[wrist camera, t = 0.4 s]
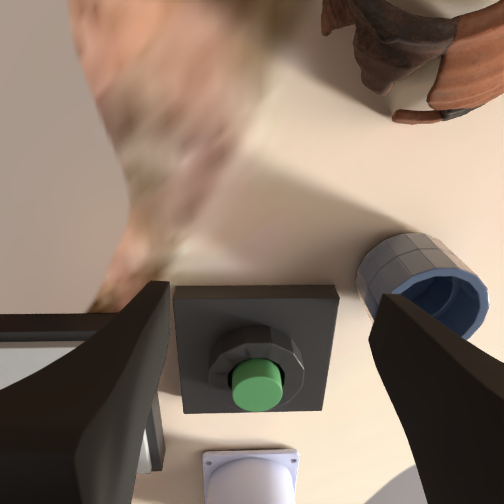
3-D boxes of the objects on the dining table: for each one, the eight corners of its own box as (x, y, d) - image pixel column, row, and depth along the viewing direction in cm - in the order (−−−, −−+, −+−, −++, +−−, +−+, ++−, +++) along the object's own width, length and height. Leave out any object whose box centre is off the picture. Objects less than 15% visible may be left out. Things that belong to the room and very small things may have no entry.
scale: (165, 450, 31) (160, 479, 29) (14, 454, 30) (-2, 484, 28) (146, 312, 24) (138, 337, 22) (-47, 314, 24) (-74, 340, 22)
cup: (433, 308, 25) (470, 356, 21) (347, 308, 25) (368, 358, 21) (457, 229, 23) (504, 267, 19) (361, 229, 22) (388, 268, 18)
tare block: (318, 395, 29) (326, 430, 26) (185, 398, 28) (180, 434, 26) (334, 285, 24) (347, 314, 21) (175, 286, 24) (168, 316, 21)
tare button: (278, 391, 25) (281, 411, 23) (232, 392, 25) (232, 412, 23) (281, 356, 23) (284, 376, 22) (232, 357, 23) (232, 377, 22)
